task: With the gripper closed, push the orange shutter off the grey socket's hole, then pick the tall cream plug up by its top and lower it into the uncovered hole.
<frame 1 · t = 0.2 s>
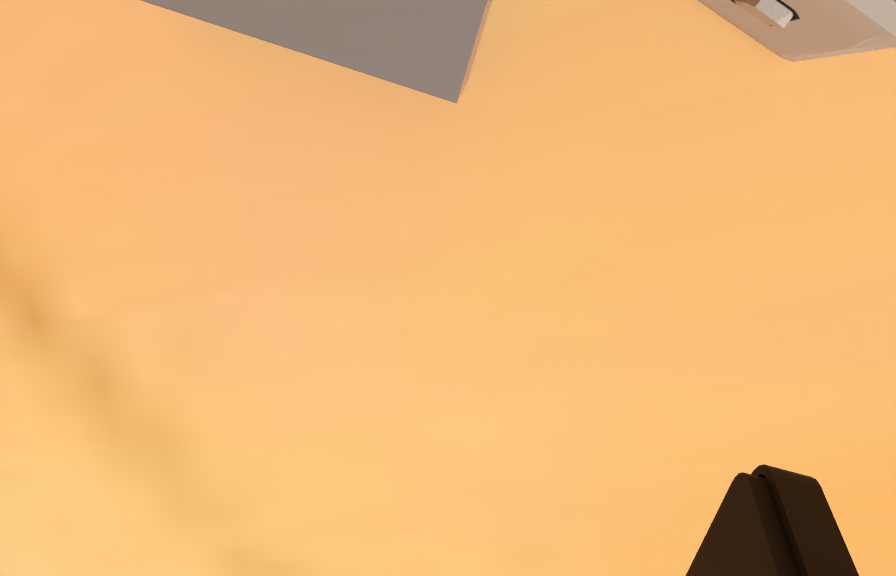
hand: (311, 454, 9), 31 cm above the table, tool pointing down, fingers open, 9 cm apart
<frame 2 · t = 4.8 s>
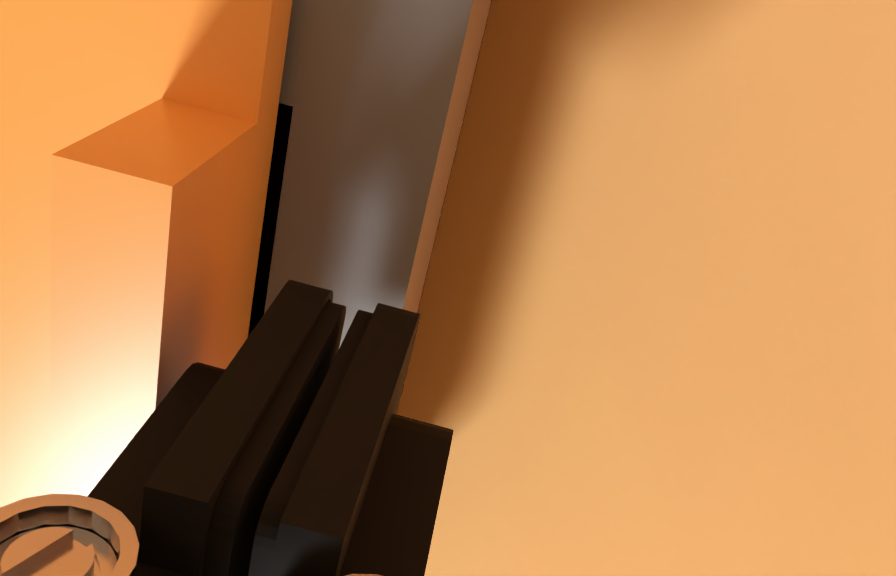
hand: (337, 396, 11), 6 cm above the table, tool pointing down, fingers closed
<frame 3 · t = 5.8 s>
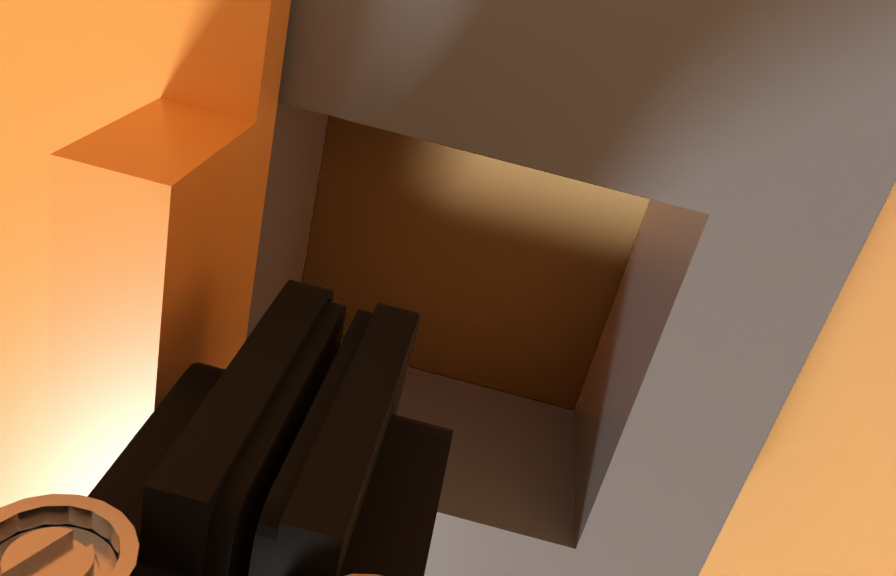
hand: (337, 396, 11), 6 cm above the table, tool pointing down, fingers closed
socket housing: (263, 190, 16), on the table
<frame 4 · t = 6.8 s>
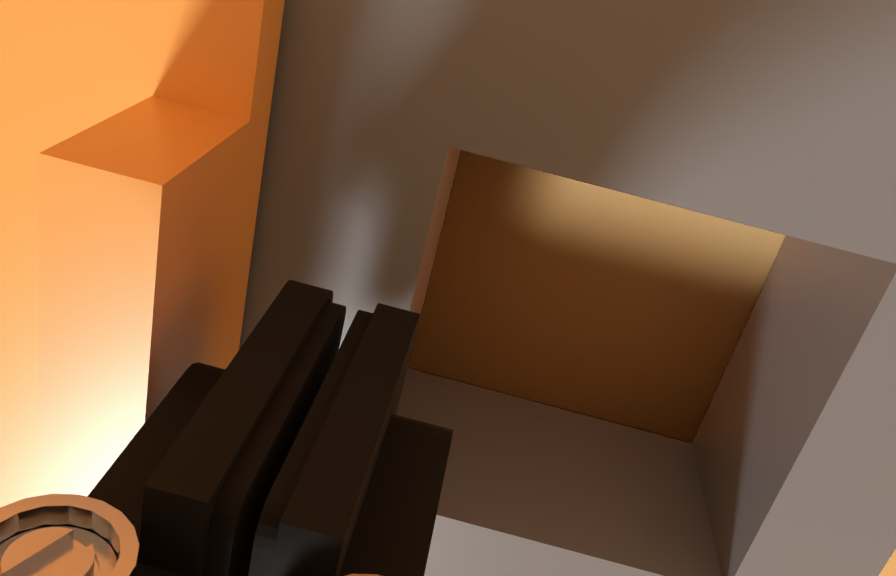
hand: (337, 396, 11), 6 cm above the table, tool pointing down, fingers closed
socket housing: (388, 223, 16), on the table
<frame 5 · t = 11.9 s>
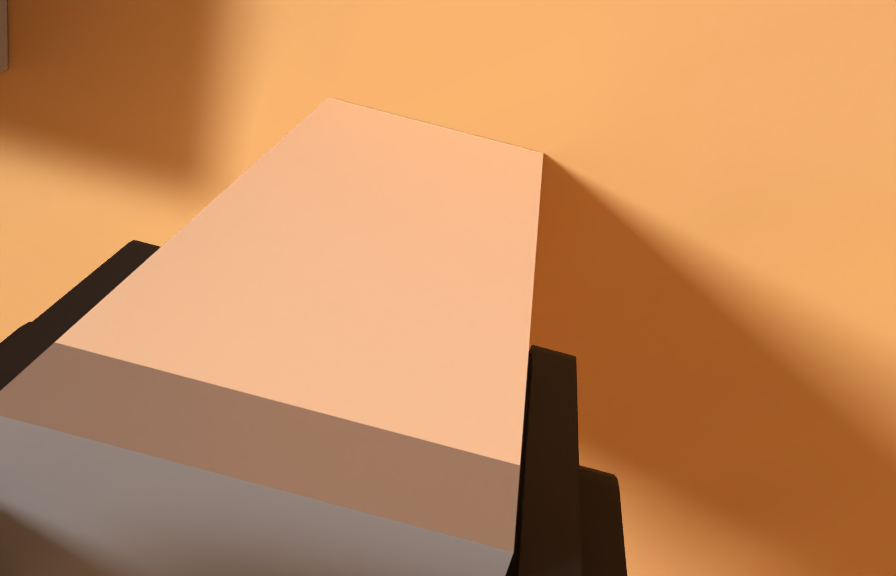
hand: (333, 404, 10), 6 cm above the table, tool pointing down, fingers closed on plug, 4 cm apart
plug: (413, 225, 16), on the table, touching gripper
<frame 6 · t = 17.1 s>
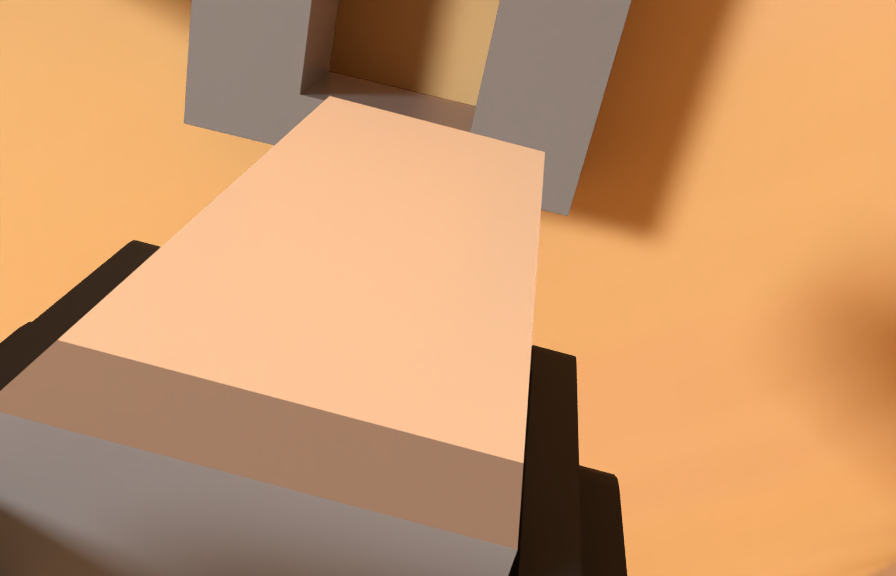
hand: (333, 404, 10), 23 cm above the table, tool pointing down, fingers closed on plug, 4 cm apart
plug: (414, 224, 16), point 17 cm above the table, touching gripper
when the fingers open (8 cm above the table, at t = 22.3 s): plug drops 2 cm, resting in socket housing.
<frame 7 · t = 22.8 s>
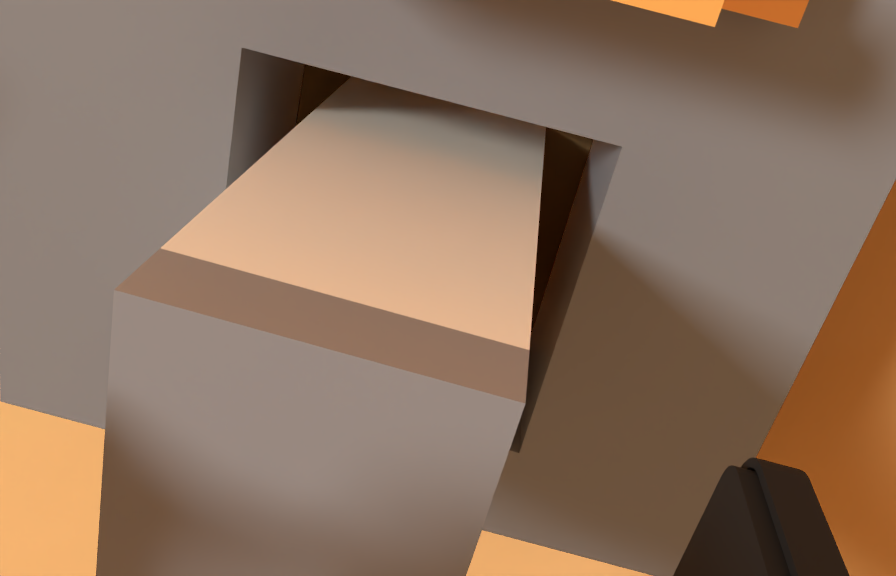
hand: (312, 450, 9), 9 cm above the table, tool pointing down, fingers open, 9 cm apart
plug: (427, 191, 18), resting in socket housing
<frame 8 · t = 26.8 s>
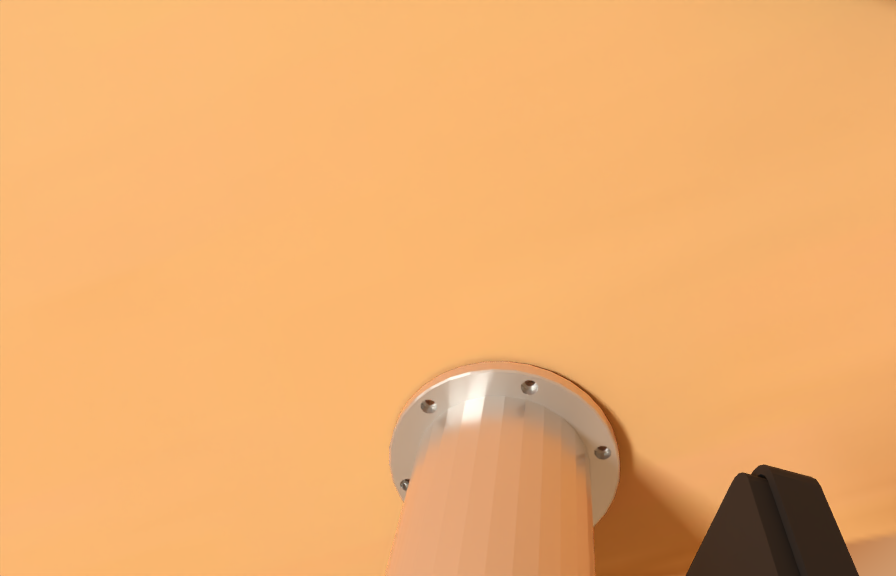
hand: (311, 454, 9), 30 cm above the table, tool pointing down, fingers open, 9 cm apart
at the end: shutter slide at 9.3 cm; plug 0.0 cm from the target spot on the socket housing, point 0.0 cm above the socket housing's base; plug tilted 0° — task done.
